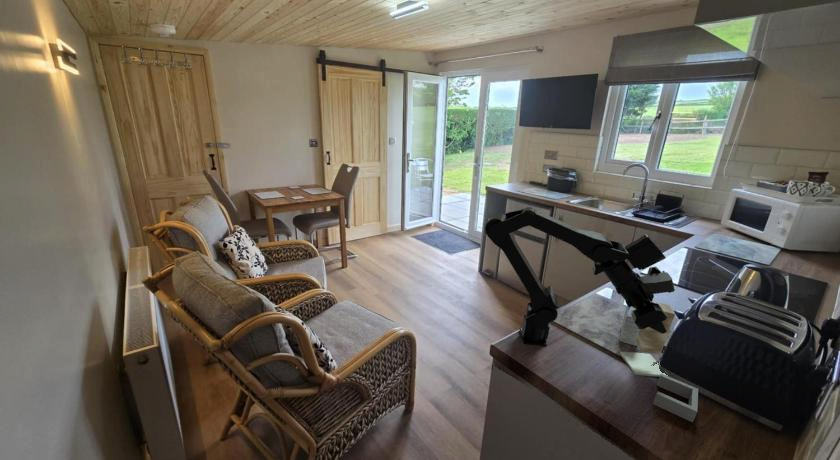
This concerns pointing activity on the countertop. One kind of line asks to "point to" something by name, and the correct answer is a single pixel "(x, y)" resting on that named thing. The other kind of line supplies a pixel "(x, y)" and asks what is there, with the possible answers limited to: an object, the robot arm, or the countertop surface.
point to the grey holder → (675, 405)
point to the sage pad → (641, 364)
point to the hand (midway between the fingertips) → (661, 327)
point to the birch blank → (655, 333)
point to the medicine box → (629, 328)
